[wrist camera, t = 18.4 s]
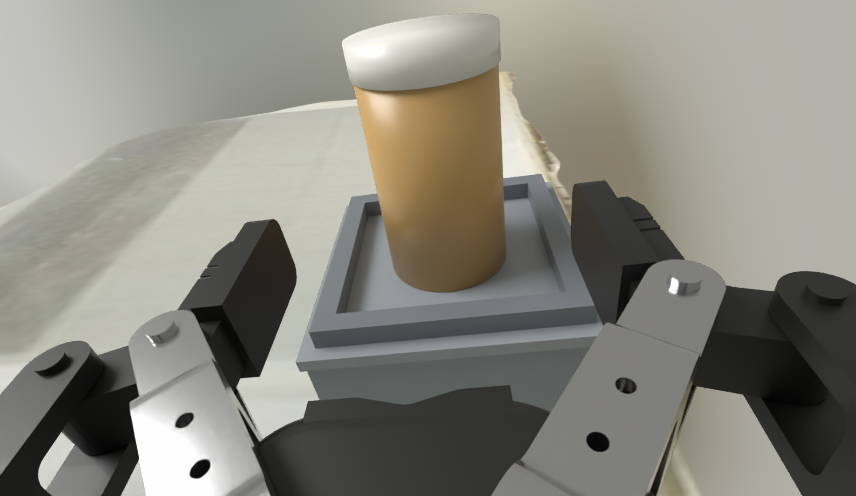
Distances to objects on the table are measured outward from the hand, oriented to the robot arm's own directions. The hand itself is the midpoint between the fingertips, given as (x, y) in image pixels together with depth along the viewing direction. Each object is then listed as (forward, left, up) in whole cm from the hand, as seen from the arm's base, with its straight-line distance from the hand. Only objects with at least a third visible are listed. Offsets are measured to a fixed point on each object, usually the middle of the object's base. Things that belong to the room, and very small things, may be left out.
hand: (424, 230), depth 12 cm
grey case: (0, +9, -14) cm, 17 cm away
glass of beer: (0, +9, -7) cm, 12 cm away
